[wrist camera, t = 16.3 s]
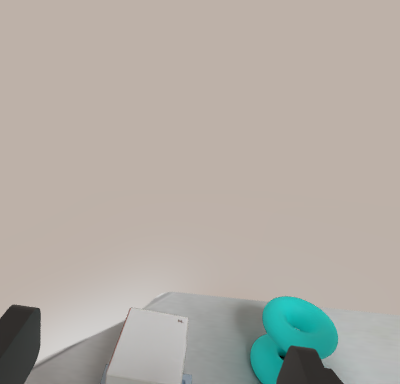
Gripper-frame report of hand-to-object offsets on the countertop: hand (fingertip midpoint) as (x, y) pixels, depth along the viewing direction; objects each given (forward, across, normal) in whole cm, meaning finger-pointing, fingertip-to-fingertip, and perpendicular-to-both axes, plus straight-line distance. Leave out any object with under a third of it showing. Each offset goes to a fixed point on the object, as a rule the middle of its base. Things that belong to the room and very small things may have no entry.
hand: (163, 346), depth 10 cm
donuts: (+25, -19, +29) cm, 43 cm away
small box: (+14, 0, +28) cm, 31 cm away
